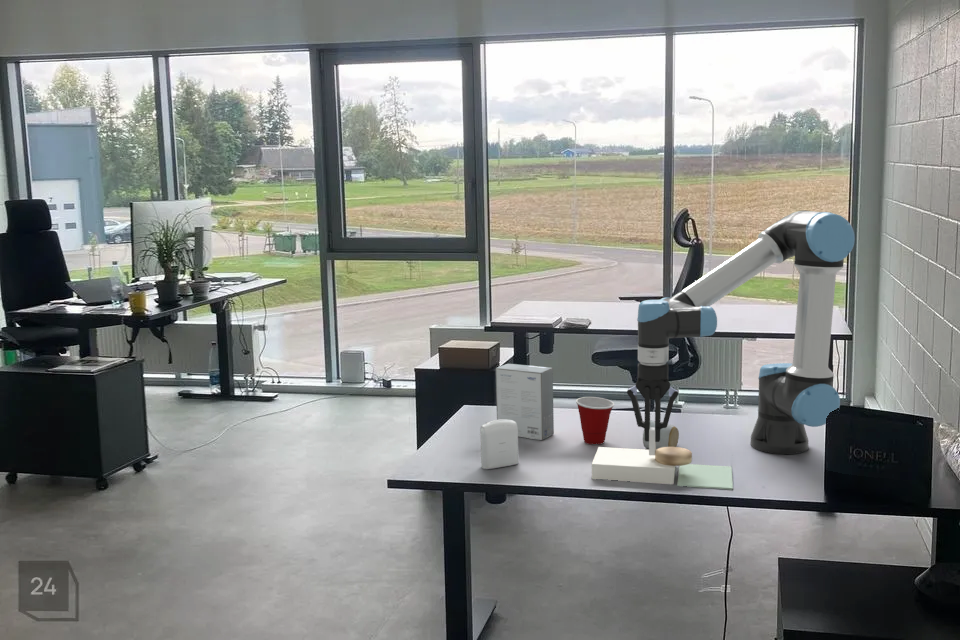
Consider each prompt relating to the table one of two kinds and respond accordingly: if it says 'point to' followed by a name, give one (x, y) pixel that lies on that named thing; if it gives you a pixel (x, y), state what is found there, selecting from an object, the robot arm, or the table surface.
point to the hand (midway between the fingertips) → (652, 453)
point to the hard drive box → (526, 399)
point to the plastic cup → (594, 418)
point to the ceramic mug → (664, 436)
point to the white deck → (630, 466)
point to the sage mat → (705, 476)
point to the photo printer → (499, 444)
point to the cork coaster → (673, 456)
